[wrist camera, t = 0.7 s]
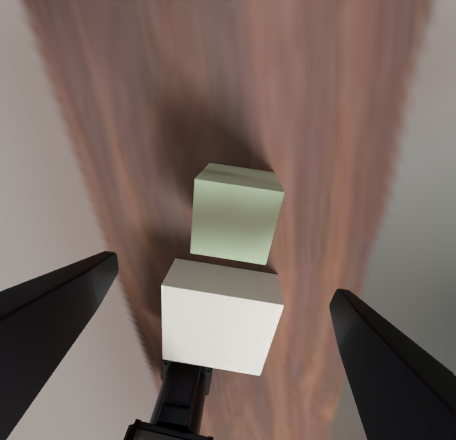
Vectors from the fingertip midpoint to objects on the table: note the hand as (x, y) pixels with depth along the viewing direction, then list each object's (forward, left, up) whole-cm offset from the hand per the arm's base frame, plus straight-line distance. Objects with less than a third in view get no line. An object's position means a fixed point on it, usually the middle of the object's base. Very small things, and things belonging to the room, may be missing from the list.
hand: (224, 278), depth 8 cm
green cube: (0, 0, -10) cm, 10 cm away
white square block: (-12, 0, -10) cm, 15 cm away
